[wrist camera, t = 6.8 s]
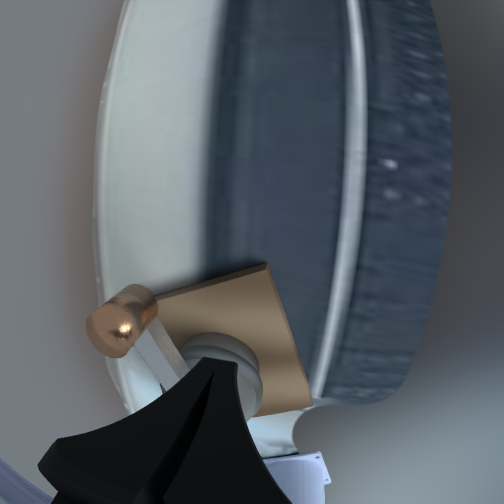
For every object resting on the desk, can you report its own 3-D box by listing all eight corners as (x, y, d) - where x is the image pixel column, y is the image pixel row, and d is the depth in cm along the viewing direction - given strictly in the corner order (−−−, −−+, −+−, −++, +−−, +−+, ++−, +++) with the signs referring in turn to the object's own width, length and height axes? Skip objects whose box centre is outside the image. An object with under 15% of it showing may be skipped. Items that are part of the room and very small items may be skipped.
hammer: (229, 408, 16) (218, 454, 13) (198, 413, 17) (184, 456, 13) (148, 275, 14) (109, 306, 10) (117, 288, 15) (77, 319, 11)
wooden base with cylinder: (311, 394, 22) (316, 441, 17) (192, 413, 24) (177, 453, 19) (267, 262, 19) (262, 294, 14) (128, 303, 21) (93, 335, 16)
